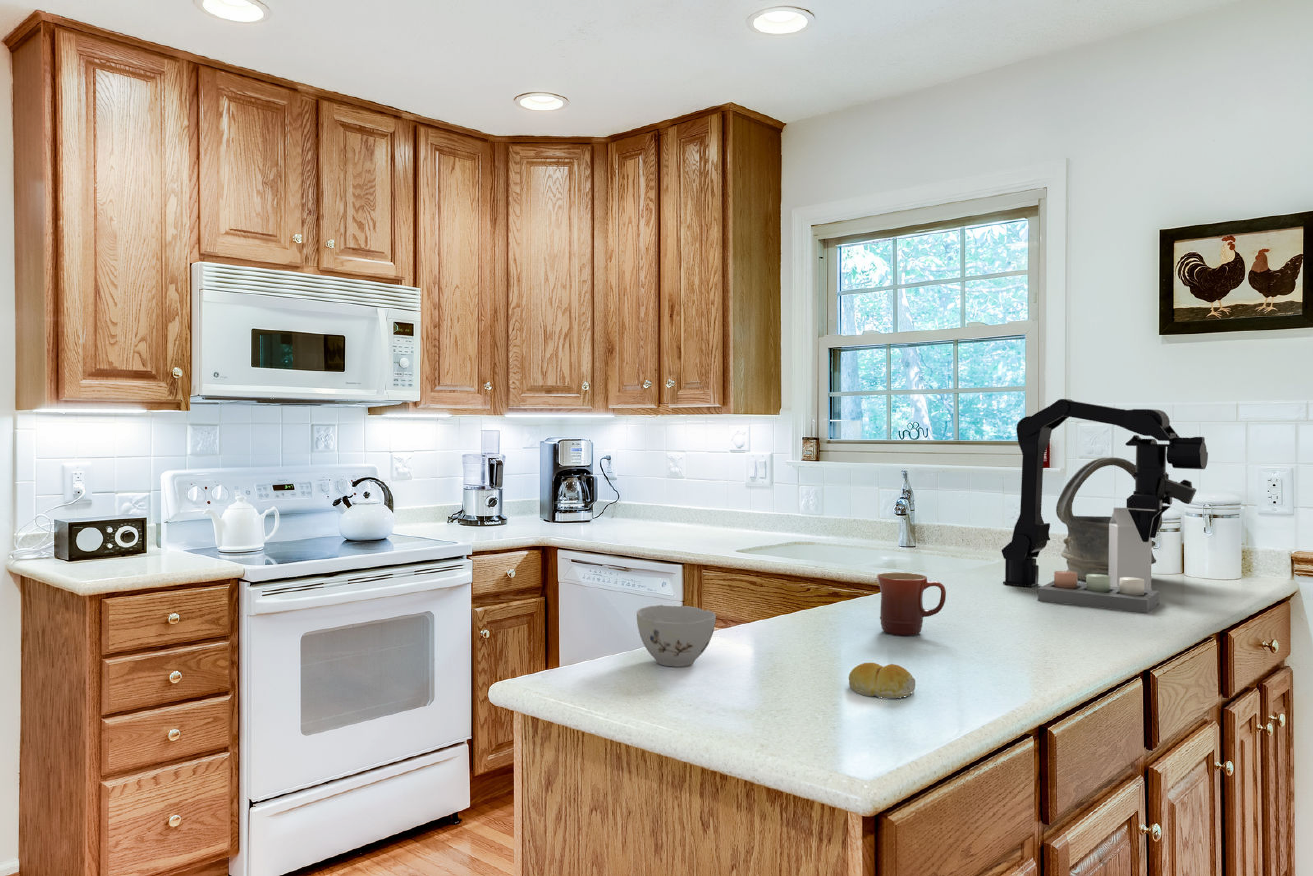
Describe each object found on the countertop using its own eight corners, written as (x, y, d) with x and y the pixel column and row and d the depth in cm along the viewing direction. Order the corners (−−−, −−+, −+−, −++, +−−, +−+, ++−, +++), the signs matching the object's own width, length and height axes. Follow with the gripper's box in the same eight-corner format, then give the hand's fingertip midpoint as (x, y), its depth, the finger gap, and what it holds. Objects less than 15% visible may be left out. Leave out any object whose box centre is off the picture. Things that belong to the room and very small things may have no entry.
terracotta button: (1051, 586, 201) (1051, 572, 200) (1057, 583, 204) (1057, 570, 204) (1074, 589, 198) (1074, 575, 198) (1079, 586, 201) (1079, 572, 201)
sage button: (1083, 590, 197) (1083, 576, 196) (1089, 587, 200) (1089, 573, 200) (1107, 592, 194) (1107, 578, 194) (1112, 589, 197) (1112, 575, 197)
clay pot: (1158, 589, 213) (1160, 459, 213) (1050, 579, 226) (1051, 457, 225) (1163, 576, 232) (1165, 457, 232) (1063, 568, 244) (1065, 454, 244)
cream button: (1117, 593, 193) (1117, 579, 192) (1121, 590, 196) (1122, 576, 196) (1141, 596, 190) (1141, 581, 190) (1146, 593, 193) (1146, 578, 193)
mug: (874, 635, 164) (874, 578, 164) (878, 625, 172) (879, 571, 172) (944, 641, 160) (945, 582, 160) (946, 630, 168) (946, 574, 168)
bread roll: (859, 680, 136) (860, 653, 136) (920, 690, 131) (920, 662, 131) (838, 694, 129) (839, 665, 129) (901, 704, 124) (902, 675, 124)
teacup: (698, 677, 137) (698, 623, 136) (622, 667, 142) (622, 615, 141) (731, 654, 150) (732, 605, 150) (661, 646, 155) (661, 599, 155)
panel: (1037, 600, 198) (1038, 588, 198) (1054, 592, 209) (1054, 580, 209) (1146, 613, 185) (1147, 600, 185) (1158, 603, 196) (1158, 591, 196)
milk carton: (1151, 594, 206) (1152, 509, 206) (1116, 593, 208) (1118, 508, 207) (1141, 588, 213) (1142, 506, 213) (1108, 587, 215) (1109, 506, 214)
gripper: (1187, 470, 186) (1186, 547, 186) (1199, 467, 201) (1197, 538, 201) (1126, 468, 193) (1125, 543, 193) (1142, 465, 208) (1140, 534, 208)
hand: (1149, 539), depth 199 cm, fingers open, 9 cm apart
